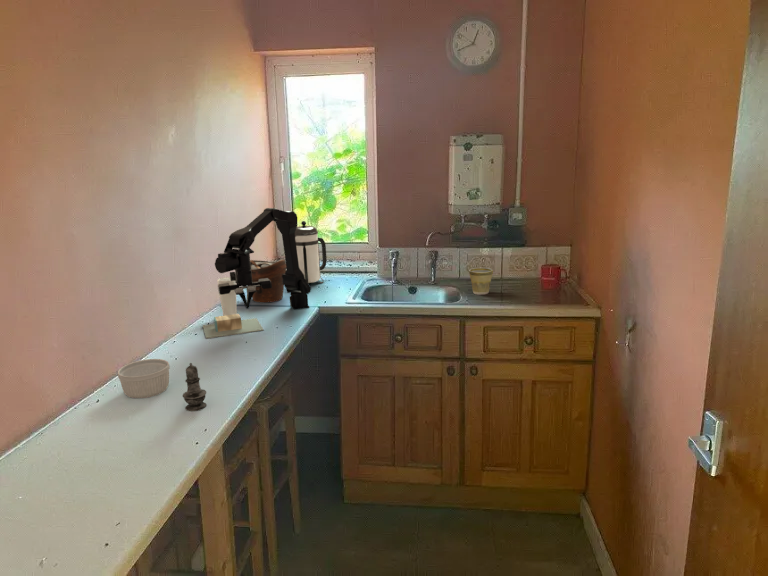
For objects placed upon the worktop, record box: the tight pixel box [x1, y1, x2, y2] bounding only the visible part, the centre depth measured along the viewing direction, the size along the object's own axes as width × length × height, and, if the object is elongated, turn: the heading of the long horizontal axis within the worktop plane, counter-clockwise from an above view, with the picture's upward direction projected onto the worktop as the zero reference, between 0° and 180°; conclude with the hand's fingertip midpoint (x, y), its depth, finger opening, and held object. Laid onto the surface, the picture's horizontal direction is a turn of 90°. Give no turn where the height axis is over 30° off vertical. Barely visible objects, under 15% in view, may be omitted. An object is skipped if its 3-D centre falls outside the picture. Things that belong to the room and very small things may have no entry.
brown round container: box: [250, 258, 287, 303], centre depth 255 cm, size 18×20×18 cm
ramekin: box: [117, 358, 171, 399], centre depth 163 cm, size 13×13×7 cm
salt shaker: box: [182, 362, 207, 412], centre depth 151 cm, size 6×6×12 cm
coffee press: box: [295, 220, 327, 285], centre depth 281 cm, size 17×16×30 cm
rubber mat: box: [202, 317, 265, 339], centre depth 217 cm, size 20×16×1 cm
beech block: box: [213, 313, 242, 332], centre depth 216 cm, size 4×6×9 cm
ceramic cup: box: [468, 267, 494, 296], centre depth 254 cm, size 13×10×10 cm
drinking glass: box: [216, 276, 238, 316], centre depth 231 cm, size 7×7×15 cm
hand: (247, 308), depth 218 cm, fingers closed
